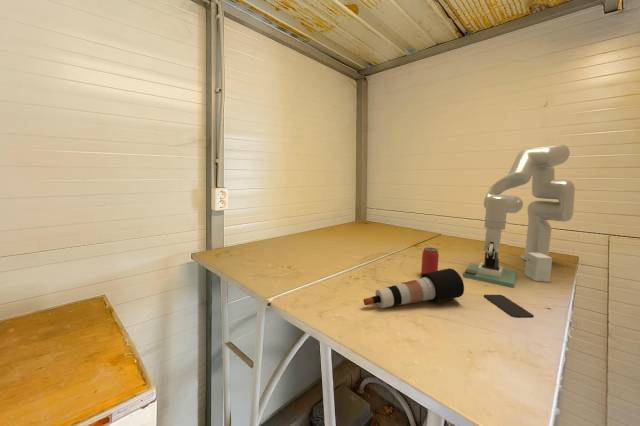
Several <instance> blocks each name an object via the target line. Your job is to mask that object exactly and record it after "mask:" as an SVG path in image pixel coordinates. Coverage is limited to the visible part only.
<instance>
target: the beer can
mask: <svg viewBox="0 0 640 426" xmlns="http://www.w3.org/2000/svg"><path fill="white" fill-rule="evenodd" d="M439 256H440V255H439V251H438V249H437V248H435V247H424V248H423V250H422V254H421V271H420V273H421V275H422V274H424V273H429V272H434V271H439V270H438V269H439V268H438V267H439Z"/></svg>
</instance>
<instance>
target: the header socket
mask: <svg viewBox="0 0 640 426" xmlns="http://www.w3.org/2000/svg"><path fill="white" fill-rule="evenodd" d="M478 265H479V267H478V273H481V274H486V275H490V276H495V277H500V278H501V275H502V271H503V269H504V267H503V266H501V265H499V266H498V270H492V269H487V268H484V262H480V263H479V264H478Z"/></svg>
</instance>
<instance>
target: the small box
mask: <svg viewBox="0 0 640 426" xmlns="http://www.w3.org/2000/svg"><path fill="white" fill-rule="evenodd" d="M552 266H553V257H551V256H549V255H548V256H546V255H544V254H542V253H532V252H527V256H526V260H525V267H524V275H525V276H527V277H528V278H529V279H531V280H532V281H534V282H546V283H550V281H551V276H552V275H551V272H552Z"/></svg>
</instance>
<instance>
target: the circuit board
mask: <svg viewBox="0 0 640 426" xmlns="http://www.w3.org/2000/svg"><path fill="white" fill-rule="evenodd" d="M479 265H480V264H477V263H470V264H469V265H468V266H467V268H466V269H465V270H464V272H463V273H462V277H464V278H468V279H471V280H477V281H480V282H481V281H482V282H486V283H490V284H495V285H498V286H499V285H501V286H505V287H509V288H514V287H515V283H516V275H517V271H516V270H509V269H504V268H503V271H502V275H501V278H500V277H495V276H490V275H486V274H481V273H478V267H479Z"/></svg>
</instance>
